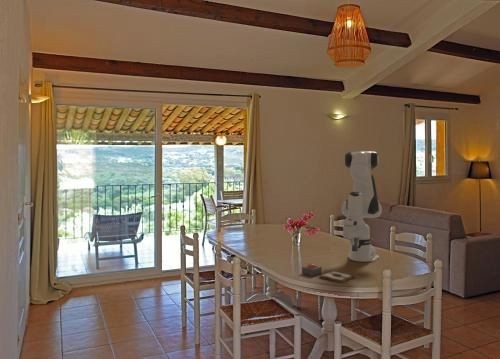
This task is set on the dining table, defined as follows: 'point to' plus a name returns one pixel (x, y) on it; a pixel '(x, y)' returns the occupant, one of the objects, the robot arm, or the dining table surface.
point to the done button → (311, 265)
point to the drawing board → (336, 276)
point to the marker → (355, 247)
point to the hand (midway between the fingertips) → (354, 244)
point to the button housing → (311, 270)
